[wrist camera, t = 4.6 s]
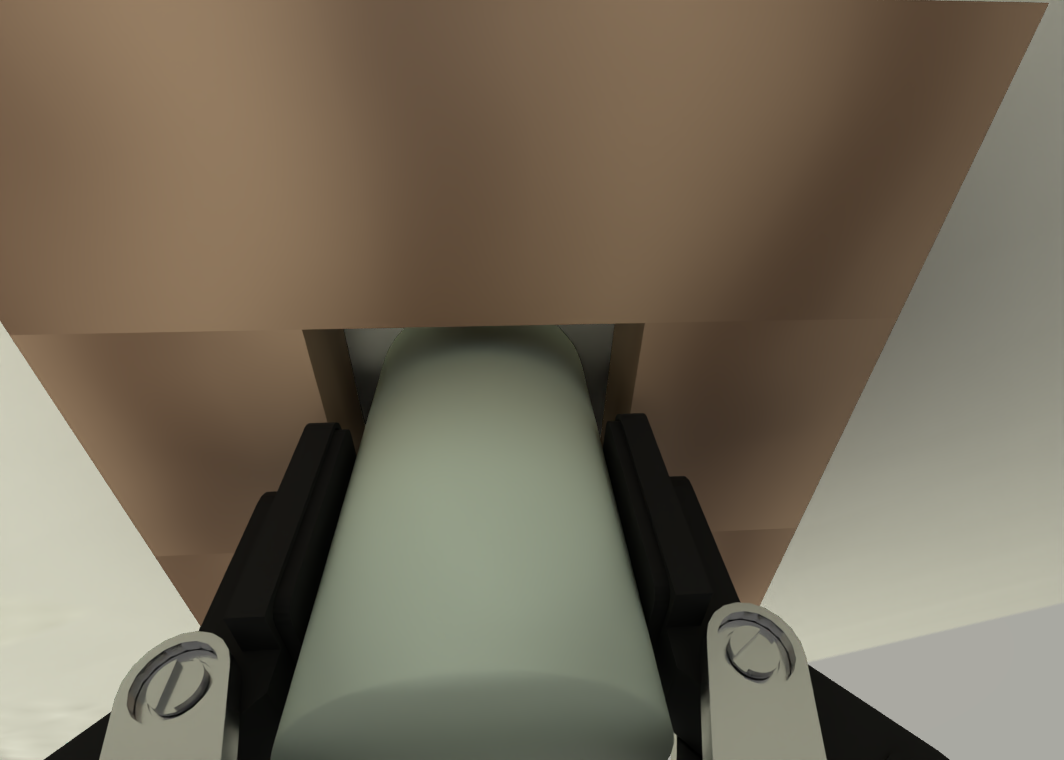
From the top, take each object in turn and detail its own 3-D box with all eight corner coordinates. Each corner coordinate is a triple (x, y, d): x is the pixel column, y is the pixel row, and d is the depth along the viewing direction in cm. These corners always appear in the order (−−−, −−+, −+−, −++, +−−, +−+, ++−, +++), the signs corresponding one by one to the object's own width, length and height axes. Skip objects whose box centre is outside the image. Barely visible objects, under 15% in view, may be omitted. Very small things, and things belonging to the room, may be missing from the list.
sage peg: (591, 297, 12) (713, 655, 5) (576, 458, 15) (644, 815, 8) (365, 301, 12) (208, 686, 5) (396, 464, 14) (321, 841, 8)
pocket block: (937, 1, 9) (1049, 2, 7) (723, 567, 18) (748, 628, 17) (-67, -19, 8) (-225, -24, 6) (248, 590, 17) (221, 658, 16)
